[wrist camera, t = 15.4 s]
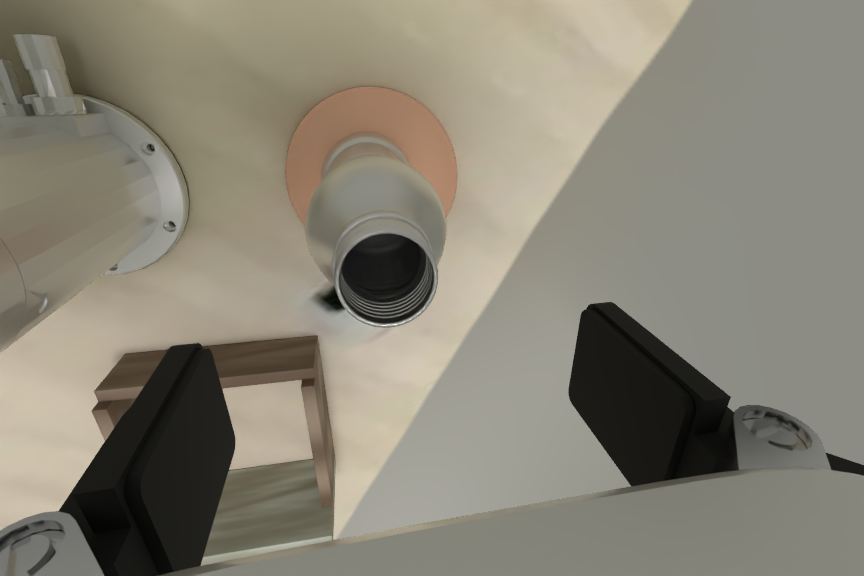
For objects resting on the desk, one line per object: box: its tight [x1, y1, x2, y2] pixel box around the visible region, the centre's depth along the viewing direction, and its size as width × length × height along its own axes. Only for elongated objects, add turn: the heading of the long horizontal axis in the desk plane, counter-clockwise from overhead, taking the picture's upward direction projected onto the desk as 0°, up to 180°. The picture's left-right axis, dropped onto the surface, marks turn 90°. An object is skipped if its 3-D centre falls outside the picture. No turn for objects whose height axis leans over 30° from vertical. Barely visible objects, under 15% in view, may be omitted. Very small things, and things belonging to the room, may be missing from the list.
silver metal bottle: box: [305, 132, 447, 328], centre depth 23 cm, size 6×7×20 cm
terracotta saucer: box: [286, 86, 457, 225], centre depth 33 cm, size 13×13×1 cm
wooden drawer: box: [92, 336, 336, 565], centre depth 37 cm, size 16×16×9 cm
